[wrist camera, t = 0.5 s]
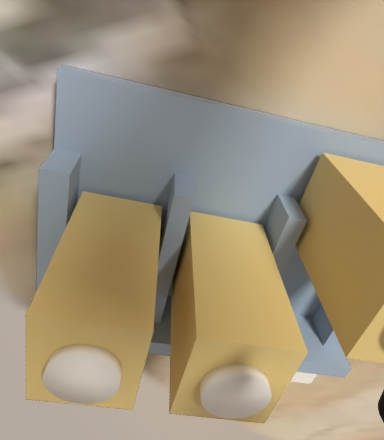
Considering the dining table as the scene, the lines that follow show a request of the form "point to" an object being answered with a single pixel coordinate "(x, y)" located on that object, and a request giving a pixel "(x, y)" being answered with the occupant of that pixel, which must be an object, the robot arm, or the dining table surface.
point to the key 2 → (347, 250)
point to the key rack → (192, 181)
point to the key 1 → (95, 306)
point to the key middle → (230, 323)
